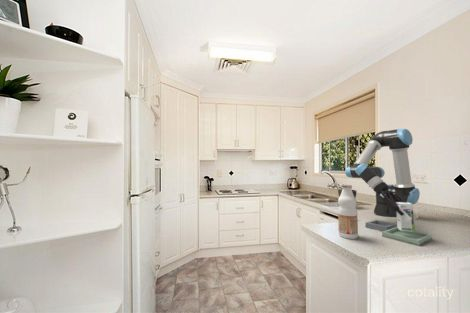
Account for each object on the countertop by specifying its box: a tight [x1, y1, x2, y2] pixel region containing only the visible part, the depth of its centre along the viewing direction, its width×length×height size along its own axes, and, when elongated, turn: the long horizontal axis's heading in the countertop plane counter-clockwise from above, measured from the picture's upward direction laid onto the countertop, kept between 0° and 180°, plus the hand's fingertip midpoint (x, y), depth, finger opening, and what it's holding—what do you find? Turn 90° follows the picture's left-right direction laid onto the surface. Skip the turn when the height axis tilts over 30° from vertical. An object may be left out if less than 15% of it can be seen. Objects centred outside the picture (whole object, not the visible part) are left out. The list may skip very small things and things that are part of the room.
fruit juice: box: [337, 184, 359, 240], centre depth 119 cm, size 9×9×28 cm
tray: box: [381, 227, 433, 246], centre depth 114 cm, size 16×16×2 cm
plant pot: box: [337, 188, 357, 199], centre depth 193 cm, size 15×15×16 cm
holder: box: [365, 219, 397, 232], centre depth 132 cm, size 12×12×3 cm
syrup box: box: [396, 202, 415, 232], centre depth 115 cm, size 6×6×14 cm
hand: (412, 219), depth 112 cm, fingers closed on syrup box, 8 cm apart
